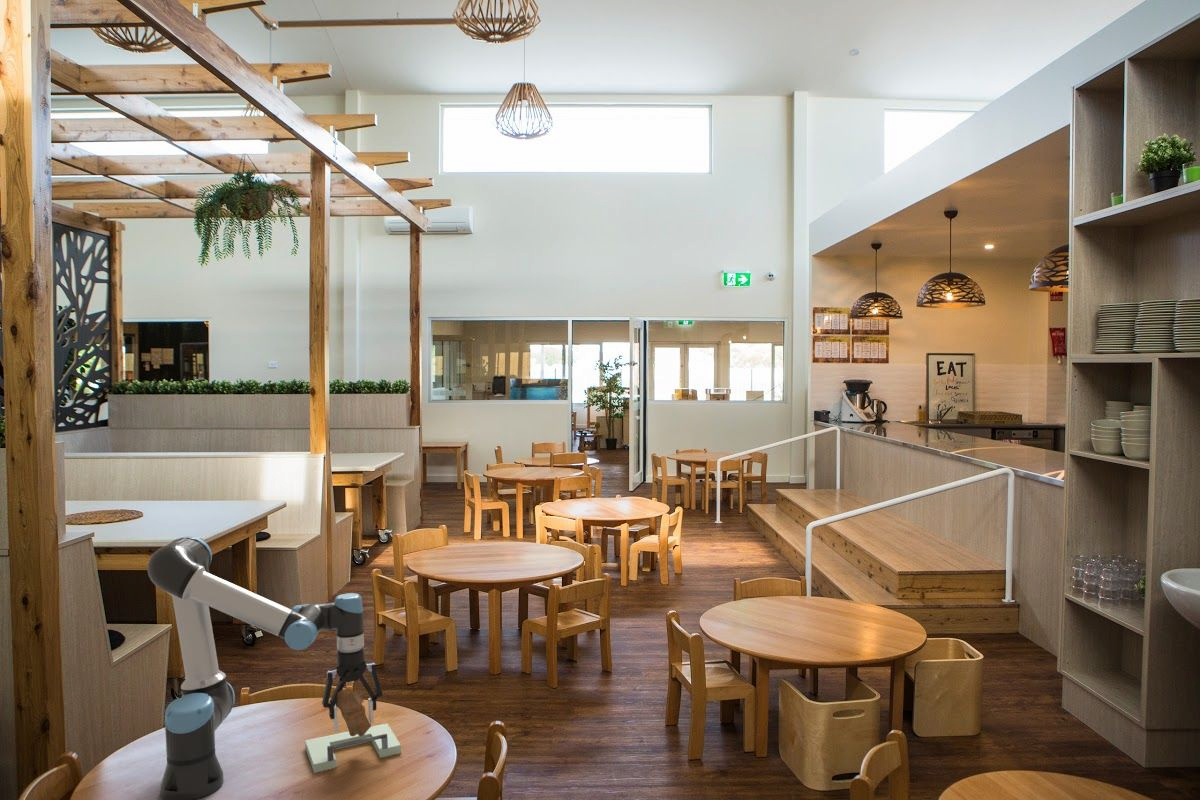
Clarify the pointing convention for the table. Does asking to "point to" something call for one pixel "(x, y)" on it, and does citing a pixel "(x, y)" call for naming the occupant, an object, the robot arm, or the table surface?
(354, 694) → the figurine
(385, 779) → the table surface
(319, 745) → the pale green u-shaped slab
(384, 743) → the bar handle
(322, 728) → the table surface
